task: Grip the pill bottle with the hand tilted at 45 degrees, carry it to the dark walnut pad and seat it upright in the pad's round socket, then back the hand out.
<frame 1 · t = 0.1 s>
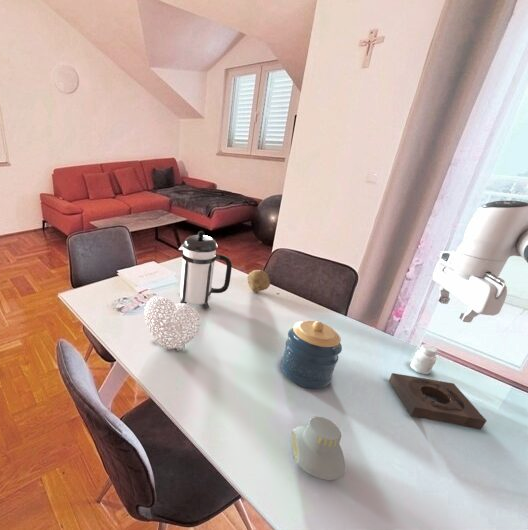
hand: (452, 311, 85), 19 cm above the table, tool pointing down, fingers open, 8 cm apart
socket pad: (430, 403, 81), on the table
canister: (304, 373, 91), on the table
decorative heart: (169, 347, 101), on the table
natural sponge: (256, 292, 135), on the table
pill bottle: (419, 369, 92), on the table
coffee press: (197, 301, 128), on the table
air freshener: (312, 461, 67), on the table
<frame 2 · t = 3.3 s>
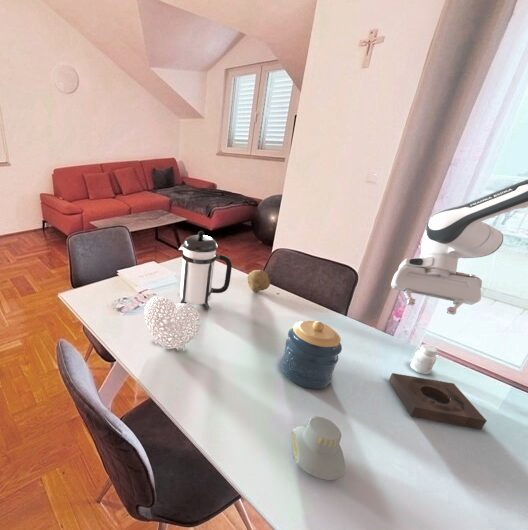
hand: (430, 309, 95), 14 cm above the table, tool tilted 45°, fingers open, 8 cm apart
nothing on the table moved.
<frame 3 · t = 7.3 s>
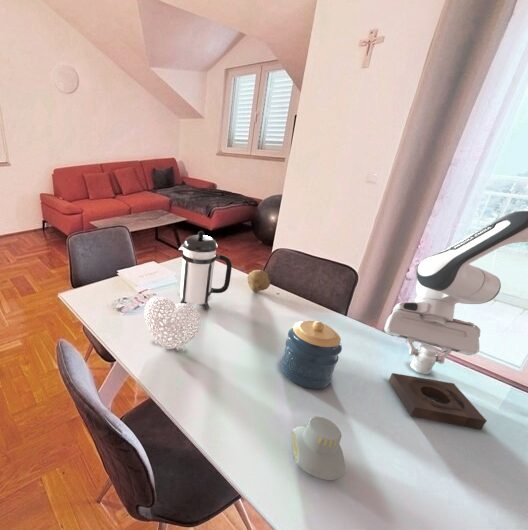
hand: (425, 358, 90), 4 cm above the table, tool tilted 45°, fingers closed on pill bottle, 4 cm apart
pill bottle: (419, 369, 92), on the table, touching gripper
everything else where it was.
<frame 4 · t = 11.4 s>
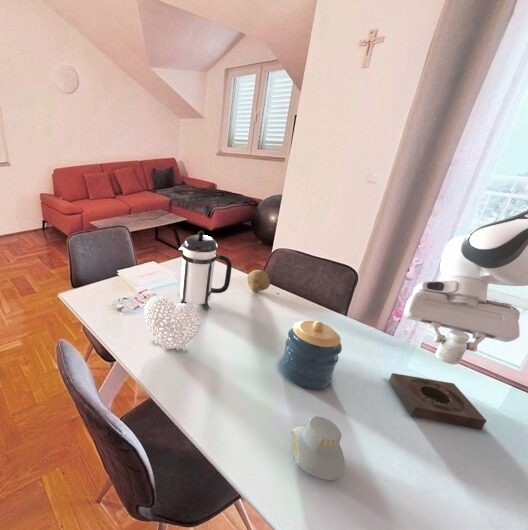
hand: (454, 346, 76), 16 cm above the table, tool tilted 45°, fingers closed on pill bottle, 4 cm apart
pill bottle: (446, 359, 79), point 12 cm above the table, touching gripper
everything else where it was.
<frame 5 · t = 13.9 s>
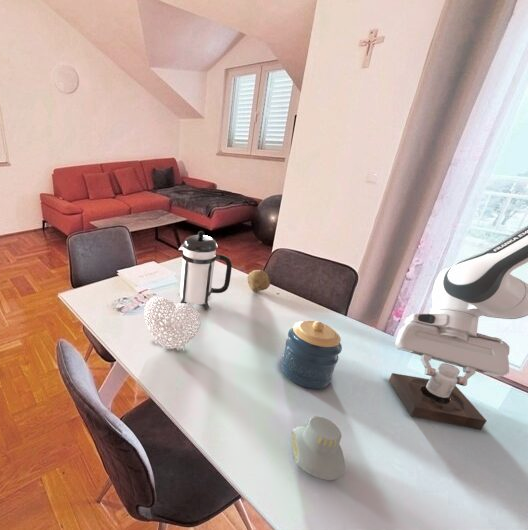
hand: (444, 379, 77), 8 cm above the table, tool tilted 45°, fingers closed on pill bottle, 4 cm apart
pill bottle: (436, 392, 79), point 4 cm above the table, touching gripper
everything else where it was.
when the fingers open (4 cm above the table, at t = 15.6 s): pill bottle stays where it is, resting in socket pad.
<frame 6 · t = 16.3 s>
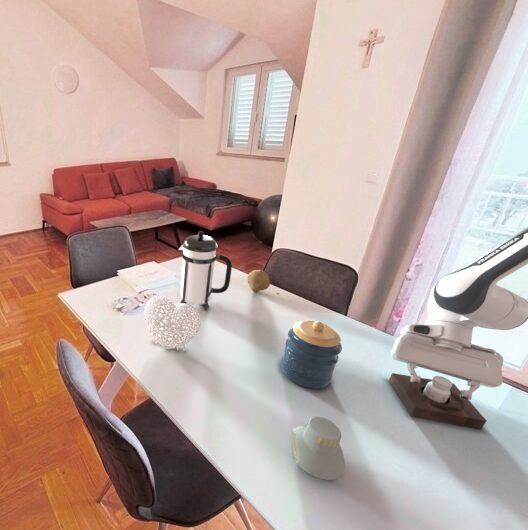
hand: (439, 390, 78), 5 cm above the table, tool tilted 45°, fingers open, 8 cm apart
pill bottle: (430, 403, 81), resting in socket pad
everything else where it was.
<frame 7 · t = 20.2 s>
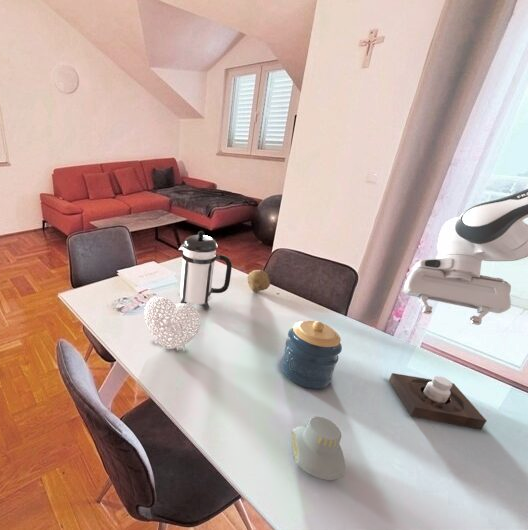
hand: (450, 318, 82), 19 cm above the table, tool tilted 45°, fingers open, 8 cm apart
nothing on the table moved.
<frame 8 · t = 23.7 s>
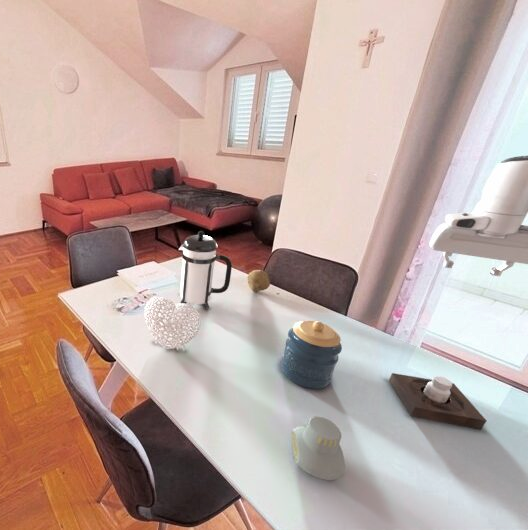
hand: (470, 271, 85), 29 cm above the table, tool pointing down, fingers open, 8 cm apart
nothing on the table moved.
at the end: pill bottle 0.0 cm off-centre in the socket pad, point 0.0 cm above the socket pad's base; pill bottle tilted 0°; the gripper is holding nothing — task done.
